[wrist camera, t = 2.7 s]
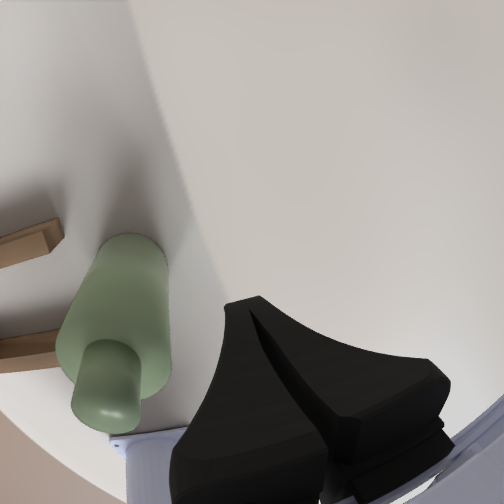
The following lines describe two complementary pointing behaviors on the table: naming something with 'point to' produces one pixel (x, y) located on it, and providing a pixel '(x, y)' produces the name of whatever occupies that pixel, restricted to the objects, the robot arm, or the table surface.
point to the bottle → (118, 334)
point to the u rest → (40, 344)
